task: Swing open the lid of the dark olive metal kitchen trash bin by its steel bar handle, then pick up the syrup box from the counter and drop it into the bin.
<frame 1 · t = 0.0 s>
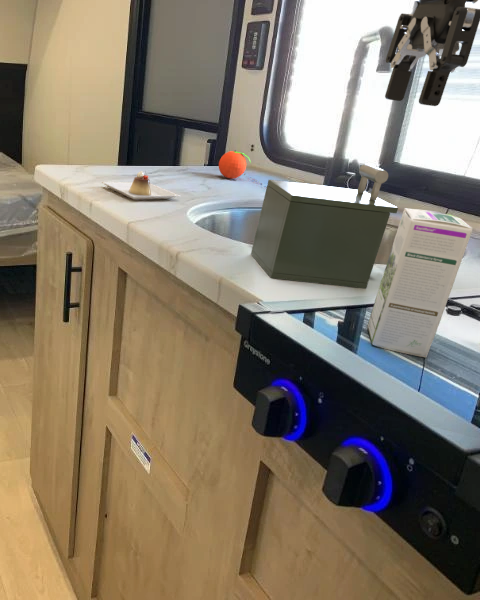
hand: (409, 102, 75), 25 cm above the countertop, tool pointing down, fingers open, 8 cm apart
bin lid: (333, 180, 83), point 13 cm above the countertop, hinge at 0.0°
trash bin: (305, 270, 88), on the countertop
clementine: (231, 179, 155), on the countertop
dessert: (139, 194, 124), on the countertop
syrup box: (393, 343, 67), on the countertop
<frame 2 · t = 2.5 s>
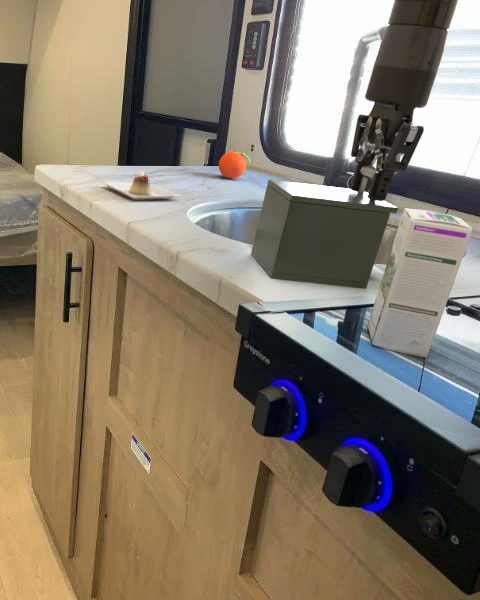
hand: (366, 195, 84), 12 cm above the countertop, tool pointing down, fingers closed on bin lid, 5 cm apart
bin lid: (333, 180, 83), point 13 cm above the countertop, hinge at 0.0°, touching gripper
everything else where it was.
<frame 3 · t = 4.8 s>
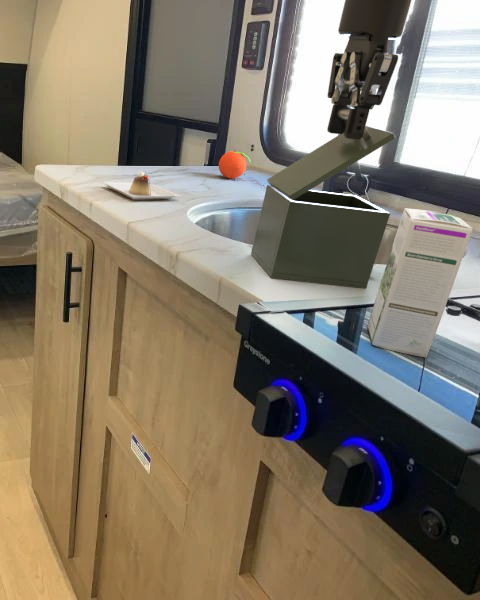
hand: (343, 135, 81), 19 cm above the countertop, tool pointing down, fingers closed on bin lid, 5 cm apart
bin lid: (319, 147, 81), point 18 cm above the countertop, hinge at 40.5°, touching gripper
everything else where it was.
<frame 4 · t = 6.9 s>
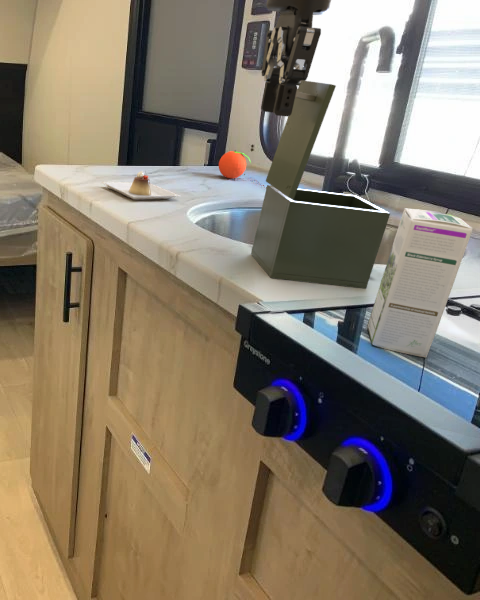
hand: (275, 113, 79), 21 cm above the countertop, tool pointing down, fingers closed on bin lid, 5 cm apart
bin lid: (282, 134, 80), point 19 cm above the countertop, hinge at 83.6°, touching gripper
everything else where it was.
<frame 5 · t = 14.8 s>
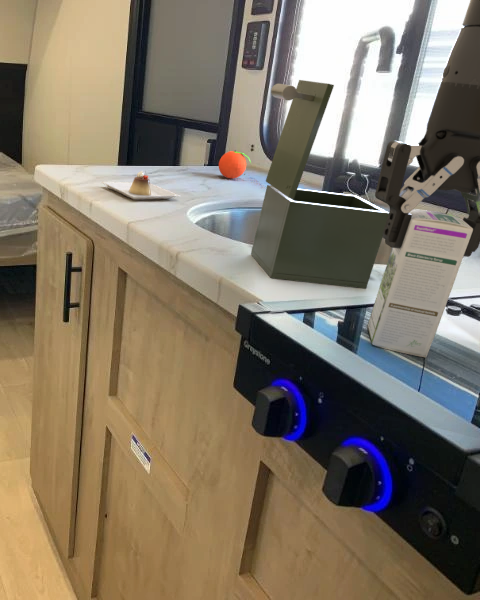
hand: (426, 249, 63), 11 cm above the countertop, tool pointing down, fingers closed on syrup box, 7 cm apart
bin lid: (281, 134, 80), point 19 cm above the countertop, hinge at 84.6°
syrup box: (393, 343, 67), on the countertop, touching gripper
everything else where it was.
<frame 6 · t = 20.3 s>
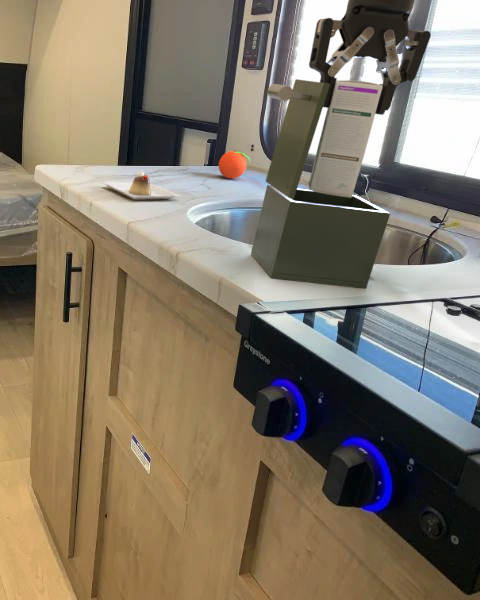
hand: (350, 110, 79), 23 cm above the countertop, tool pointing down, fingers closed on syrup box, 7 cm apart
bin lid: (279, 134, 80), point 19 cm above the countertop, hinge at 86.7°
syrup box: (328, 192, 83), point 12 cm above the countertop, touching gripper
everything else where it was.
when the fingers open (12 cm above the countertop, at t = 30.6 s): syrup box stays where it is, resting on trash bin.
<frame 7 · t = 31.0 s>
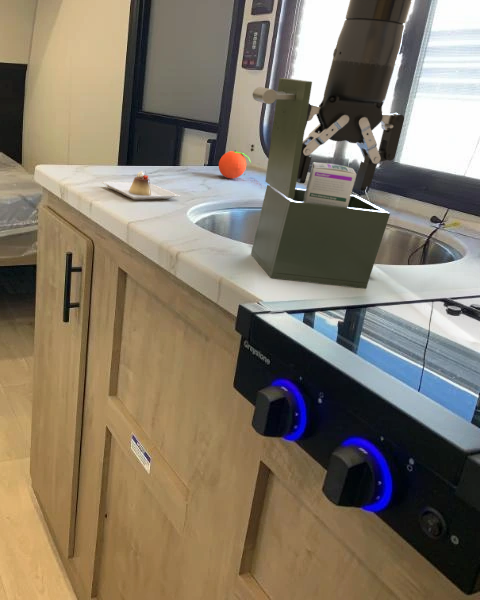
hand: (329, 185, 83), 13 cm above the countertop, tool pointing down, fingers open, 8 cm apart
bin lid: (271, 136, 81), point 18 cm above the countertop, hinge at 95.6°
syrup box: (307, 266, 88), point 1 cm above the countertop, touching trash bin
everything else where it was.
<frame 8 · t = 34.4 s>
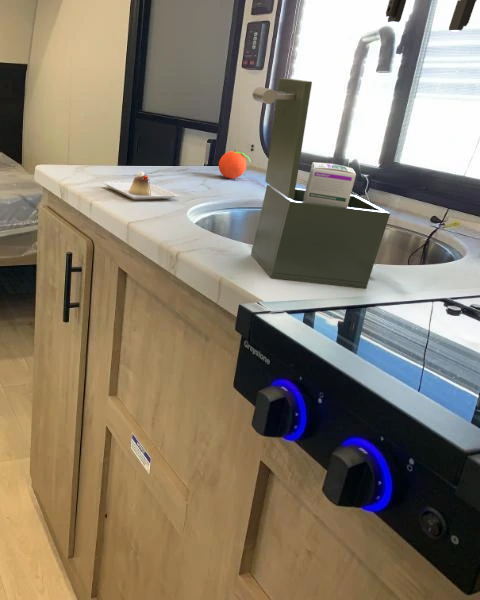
hand: (424, 26, 80), 34 cm above the countertop, tool pointing down, fingers open, 8 cm apart
nothing on the countertop moved.
at the end: bin lid at +96° (first picture: +0°); syrup box 0.1 cm off-centre in the trash bin, point 0.6 cm above the trash bin's base; the gripper is holding nothing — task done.
